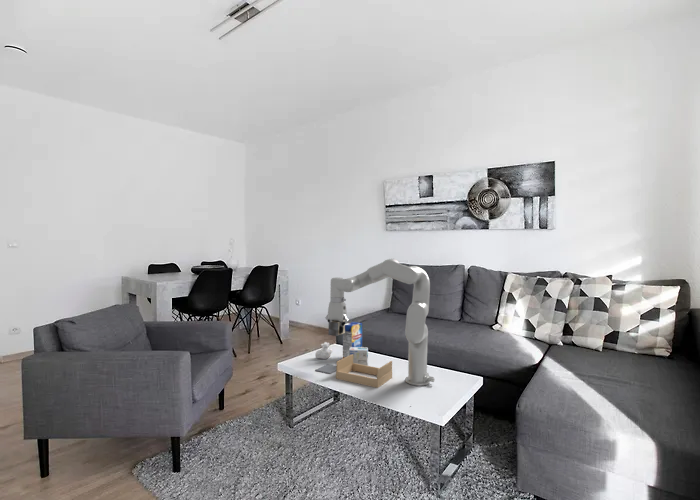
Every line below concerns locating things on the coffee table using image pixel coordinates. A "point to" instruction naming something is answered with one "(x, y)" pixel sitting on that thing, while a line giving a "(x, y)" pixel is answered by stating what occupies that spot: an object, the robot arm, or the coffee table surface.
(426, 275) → the robot arm
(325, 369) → the grey mat
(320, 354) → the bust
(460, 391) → the coffee table surface
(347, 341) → the blue yellow food box
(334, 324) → the block
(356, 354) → the light bulb box
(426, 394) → the coffee table surface
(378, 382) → the carton
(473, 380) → the coffee table surface
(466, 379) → the coffee table surface
